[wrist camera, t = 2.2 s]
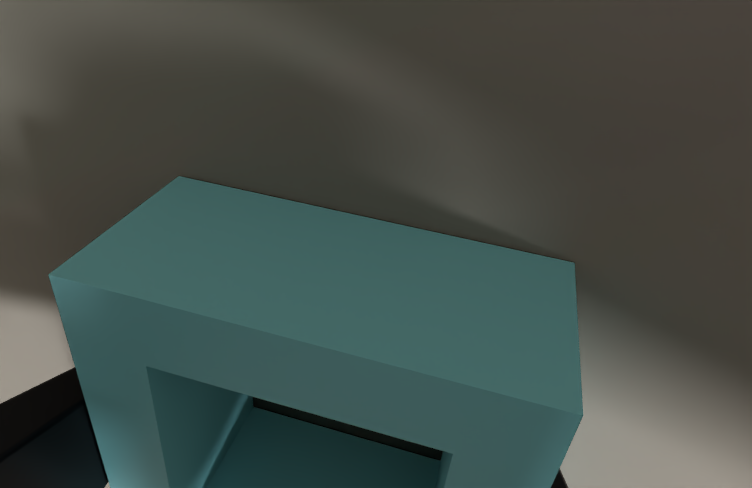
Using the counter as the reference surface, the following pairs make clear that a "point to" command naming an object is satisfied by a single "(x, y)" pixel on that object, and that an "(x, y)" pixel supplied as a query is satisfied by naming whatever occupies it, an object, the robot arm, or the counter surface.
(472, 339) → the ring
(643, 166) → the counter surface
